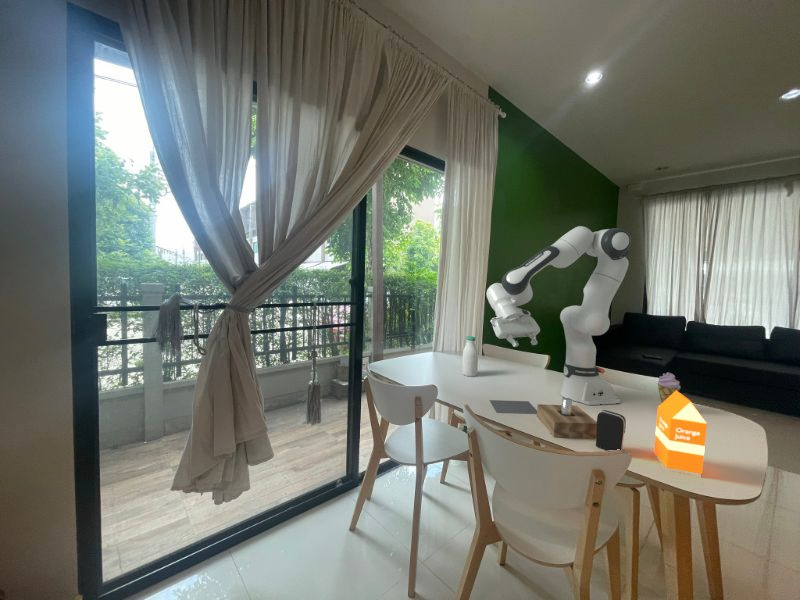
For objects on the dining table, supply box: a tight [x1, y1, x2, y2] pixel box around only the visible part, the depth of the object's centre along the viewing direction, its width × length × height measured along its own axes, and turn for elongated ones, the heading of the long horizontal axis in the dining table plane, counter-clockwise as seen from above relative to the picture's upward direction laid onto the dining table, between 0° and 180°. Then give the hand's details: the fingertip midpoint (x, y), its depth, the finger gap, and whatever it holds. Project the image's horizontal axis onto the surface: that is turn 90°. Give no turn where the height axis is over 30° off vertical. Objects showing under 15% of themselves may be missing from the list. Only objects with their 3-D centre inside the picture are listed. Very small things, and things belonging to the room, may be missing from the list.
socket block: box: [536, 403, 597, 439], centre depth 109 cm, size 14×14×5 cm
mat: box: [489, 399, 537, 415], centre depth 124 cm, size 16×12×1 cm
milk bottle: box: [461, 335, 479, 378], centre depth 164 cm, size 8×8×20 cm
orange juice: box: [653, 390, 708, 475], centre depth 87 cm, size 8×9×20 cm
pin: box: [561, 397, 573, 416], centre depth 108 cm, size 3×3×10 cm
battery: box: [595, 409, 627, 451], centre depth 95 cm, size 7×4×11 cm, turn 42°
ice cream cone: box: [657, 372, 681, 404], centre depth 123 cm, size 7×6×15 cm
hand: (526, 345), depth 123 cm, fingers open, 8 cm apart
